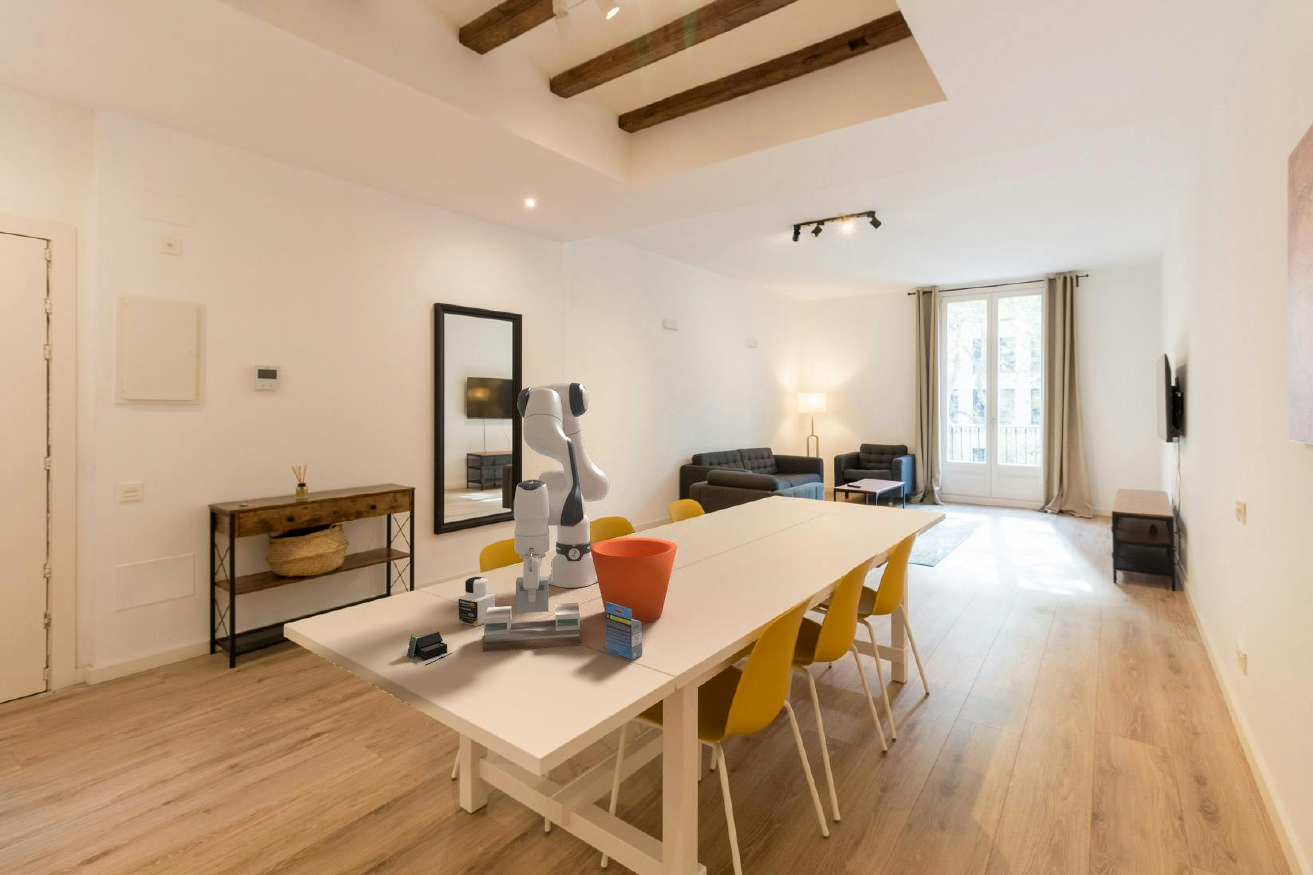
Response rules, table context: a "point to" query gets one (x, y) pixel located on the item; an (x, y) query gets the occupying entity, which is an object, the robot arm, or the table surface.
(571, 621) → the rail board
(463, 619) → the medicine bottle
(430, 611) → the table surface
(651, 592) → the flowerpot
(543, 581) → the block
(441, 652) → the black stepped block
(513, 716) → the table surface
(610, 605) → the label tape box
